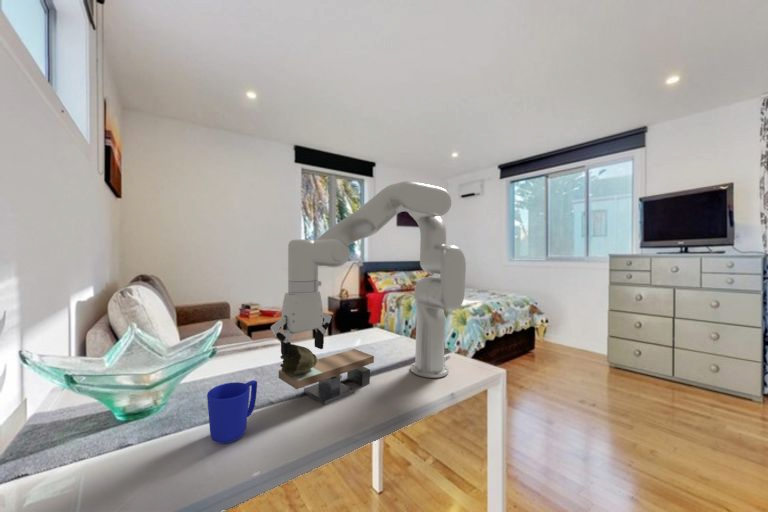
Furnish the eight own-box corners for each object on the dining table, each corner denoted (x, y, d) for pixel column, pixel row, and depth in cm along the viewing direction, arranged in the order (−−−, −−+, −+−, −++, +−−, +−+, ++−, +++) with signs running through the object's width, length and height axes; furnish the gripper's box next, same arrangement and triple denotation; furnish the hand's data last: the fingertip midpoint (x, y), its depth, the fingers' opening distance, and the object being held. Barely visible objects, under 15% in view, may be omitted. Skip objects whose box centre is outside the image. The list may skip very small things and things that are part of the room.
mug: (269, 421, 75) (269, 378, 74) (228, 452, 63) (229, 402, 63) (241, 414, 77) (241, 373, 77) (197, 442, 66) (197, 395, 65)
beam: (353, 357, 102) (353, 348, 102) (374, 366, 95) (375, 356, 95) (277, 381, 84) (277, 369, 83) (297, 394, 77) (298, 381, 76)
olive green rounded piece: (322, 374, 82) (297, 374, 76) (303, 376, 86) (278, 376, 80) (323, 344, 85) (299, 342, 79) (305, 348, 89) (280, 346, 83)
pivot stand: (351, 375, 102) (351, 359, 102) (373, 385, 95) (373, 367, 95) (303, 392, 89) (304, 373, 89) (324, 405, 83) (325, 385, 82)
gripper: (322, 282, 91) (322, 341, 92) (264, 288, 79) (264, 356, 79) (338, 285, 86) (338, 348, 87) (279, 292, 73) (279, 365, 74)
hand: (303, 352), depth 83 cm, fingers open, 9 cm apart
